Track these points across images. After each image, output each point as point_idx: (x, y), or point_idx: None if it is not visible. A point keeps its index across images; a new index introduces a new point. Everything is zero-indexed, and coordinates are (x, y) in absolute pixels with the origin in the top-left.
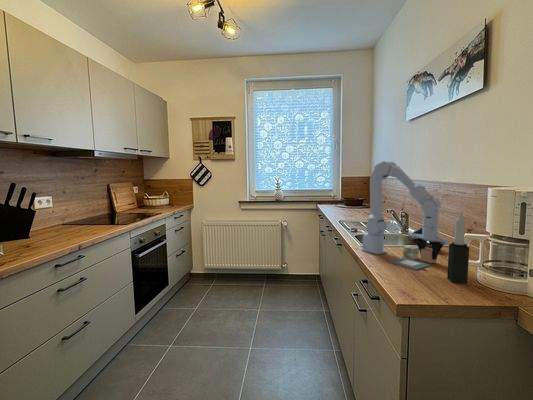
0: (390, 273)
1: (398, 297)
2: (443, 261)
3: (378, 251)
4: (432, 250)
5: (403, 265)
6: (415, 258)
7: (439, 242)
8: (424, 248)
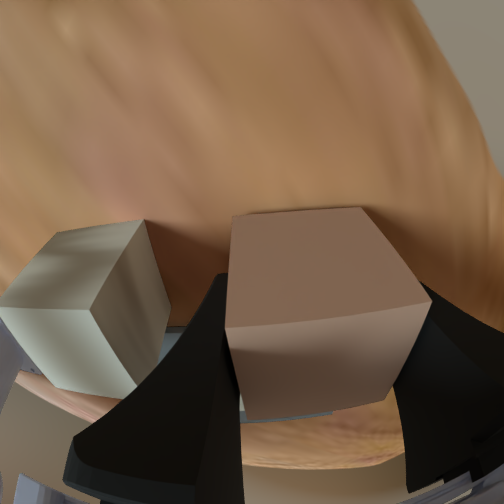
0: (284, 453)
1: (368, 464)
2: (376, 86)
3: (19, 362)
4: (381, 368)
5: (258, 420)
6: (156, 272)
7: (501, 461)
8: (245, 380)
